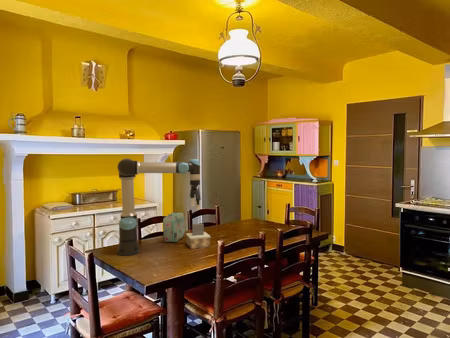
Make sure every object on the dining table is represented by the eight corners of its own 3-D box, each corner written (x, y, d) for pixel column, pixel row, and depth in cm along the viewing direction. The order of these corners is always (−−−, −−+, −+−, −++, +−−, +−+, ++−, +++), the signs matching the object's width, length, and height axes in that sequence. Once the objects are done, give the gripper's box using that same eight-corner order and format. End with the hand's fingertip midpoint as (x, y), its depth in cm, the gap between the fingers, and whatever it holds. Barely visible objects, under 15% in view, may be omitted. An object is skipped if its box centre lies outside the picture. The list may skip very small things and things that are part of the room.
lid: (190, 240, 250) (190, 227, 250) (185, 236, 264) (185, 222, 264) (210, 239, 255) (210, 225, 255) (204, 234, 269) (204, 221, 269)
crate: (191, 248, 251) (191, 239, 251) (186, 243, 264) (186, 234, 264) (209, 247, 256) (209, 237, 255) (204, 242, 269) (204, 233, 269)
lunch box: (175, 244, 263) (174, 216, 262) (162, 243, 265) (161, 215, 264) (186, 235, 289) (185, 210, 288) (174, 235, 292) (174, 209, 290)
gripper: (204, 180, 253) (204, 210, 254) (194, 178, 276) (195, 205, 277) (194, 181, 250) (195, 210, 251) (185, 178, 274) (185, 205, 275)
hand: (195, 207), depth 264 cm, fingers open, 13 cm apart
